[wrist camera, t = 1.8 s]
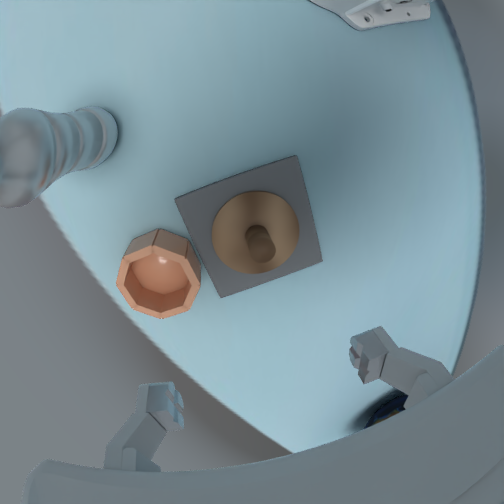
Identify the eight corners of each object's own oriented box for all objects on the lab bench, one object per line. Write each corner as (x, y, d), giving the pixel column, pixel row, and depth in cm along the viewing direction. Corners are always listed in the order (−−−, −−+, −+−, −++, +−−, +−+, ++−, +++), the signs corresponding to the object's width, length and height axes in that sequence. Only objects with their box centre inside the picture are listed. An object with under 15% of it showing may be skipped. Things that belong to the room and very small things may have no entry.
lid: (284, 178, 29) (297, 188, 25) (305, 253, 34) (319, 273, 29) (198, 209, 29) (195, 225, 25) (230, 281, 34) (233, 305, 30)
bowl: (179, 219, 30) (175, 235, 26) (209, 282, 34) (210, 303, 30) (114, 247, 30) (103, 265, 26) (148, 303, 34) (143, 324, 30)
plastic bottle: (134, 128, 24) (14, 151, 7) (99, 176, 26) (-19, 265, 8) (95, 96, 22) (-43, 89, 4) (62, 145, 23) (-71, 199, 6)
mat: (295, 155, 28) (296, 155, 28) (321, 259, 35) (322, 261, 35) (174, 198, 29) (174, 199, 28) (220, 295, 35) (220, 298, 35)
